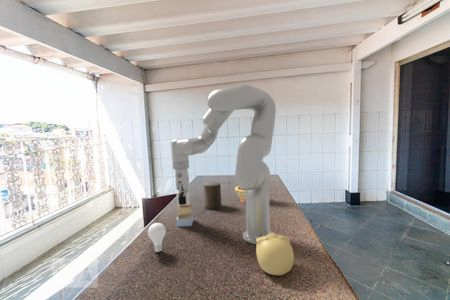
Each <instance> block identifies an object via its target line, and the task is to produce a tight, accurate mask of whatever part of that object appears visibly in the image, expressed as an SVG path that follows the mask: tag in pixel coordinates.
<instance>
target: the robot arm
mask: <svg viewBox="0 0 450 300" xmlns="http://www.w3.org/2000/svg"><path fill="white" fill-rule="evenodd" d="M206 103H207V105H208V110H207V111H206V113H205V114H204V115H203V117H202V123H203V125H205V128H204V129H203V131H202V132H201V134H200V135H199V136H198V137H192V138H186V139H185V138H177V139H176V138H175V139H172V140H171V143H170V144H171V157H172V169H173V170H175V189H176V190H177V192H178V194H179V205H185V204H186V196H185V190H189V187H190V177H189V170H188V169H190V162H189V160H190V159H189V156H195V155H200V154H203V153H205V152H206V151H208V149H209V148H210V147H211V146H212V145H213V144H214V142H215V141H216V139H217V137H218V134H219V131H220V129H221V127H222V126H223V125H224V124H225V122H226V121H227V120H228V118H229V117H230V116H231V115H232V113H233V112H234V111H236V110H251V111H253V112H254V114H253V117H252V121H251V128H250V129H251V130H250V134H248V135H246V136H245V137H244V138H242V139H241V141H240V142H239V145H238V149H237V156H236V163H235V172H234V174H235V175H234V177H235V182H236V184H237V186H239V187H240V188H242V189H244V190H245V203H244V204H245V226H246V230H245V231H244V232H243V233H242V238H243V240H244V241H245V242H247V243H250V244H253V245H256V244H257V242H256V239H257V238H259V237H263V236H267V235H268V234H270V233H274V232H273V231H272V230H271V219H270V181H271V172H270V168H269V166H268V165H267V163H265V161H263V159H264V158H266V157H267V156H268V155H269V154H270V153H271V150H272V145H273V144H272V143H273V136H274V130H275V129H274V128H275V120H276V114H277V113H276V111H277V109H276V108H277V107H276V104H275V101H274V98H273V97H272V96H271V95H270V94H269V93H268V92H266V91H264V89H261V88H258V87H256V86H253V85H250V84H240V85H234V86H233V85H232V86H229V87H228V86H227V87H223V88H217V89H215V90H213V91H212V92H210V94H209V95H208V98H207V102H206ZM182 191H183V192H182Z"/></svg>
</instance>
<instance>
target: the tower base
mask: <svg viewBox="0 0 450 300" xmlns="http://www.w3.org/2000/svg"><path fill="white" fill-rule="evenodd" d="M175 220H176V221H175V222H176V227H177V228H178V227H192V226H193V222H194V213H193V212H192V215H191V218H183V219H178V215H177V216H176V219H175Z"/></svg>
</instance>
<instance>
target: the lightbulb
mask: <svg viewBox="0 0 450 300" xmlns="http://www.w3.org/2000/svg"><path fill="white" fill-rule="evenodd" d="M147 235H148V238H149V239H150V240H151V241H152V244H153V247H154V252H156V253H160V252H161V251H162V250H163V248H162V247H163V246H162V245H163V239H164V237H165V235H166V227H165V225H164V224H163V223H161V222H155V223H152V224H151V225H150V226H149V228H148V230H147Z"/></svg>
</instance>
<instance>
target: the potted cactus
mask: <svg viewBox="0 0 450 300" xmlns="http://www.w3.org/2000/svg"><path fill="white" fill-rule="evenodd" d="M234 190H235V193H236V194H237V196H238V198H239V199H240V202H241V203H244V204H246V203H245V190H244V189H242V188H240V187H239V186H238V185H237V186H235V188H234Z"/></svg>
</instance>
